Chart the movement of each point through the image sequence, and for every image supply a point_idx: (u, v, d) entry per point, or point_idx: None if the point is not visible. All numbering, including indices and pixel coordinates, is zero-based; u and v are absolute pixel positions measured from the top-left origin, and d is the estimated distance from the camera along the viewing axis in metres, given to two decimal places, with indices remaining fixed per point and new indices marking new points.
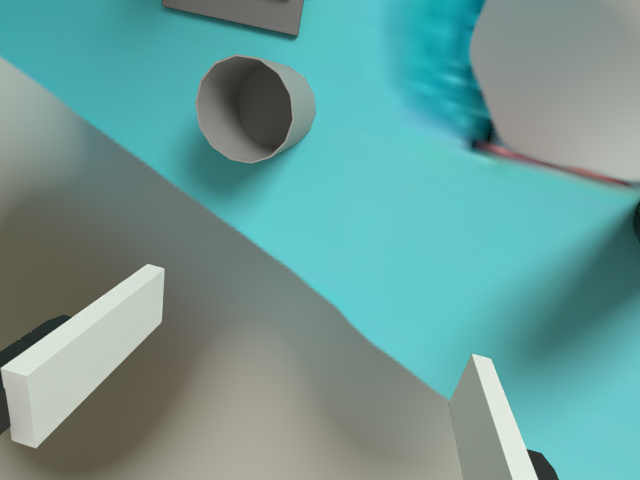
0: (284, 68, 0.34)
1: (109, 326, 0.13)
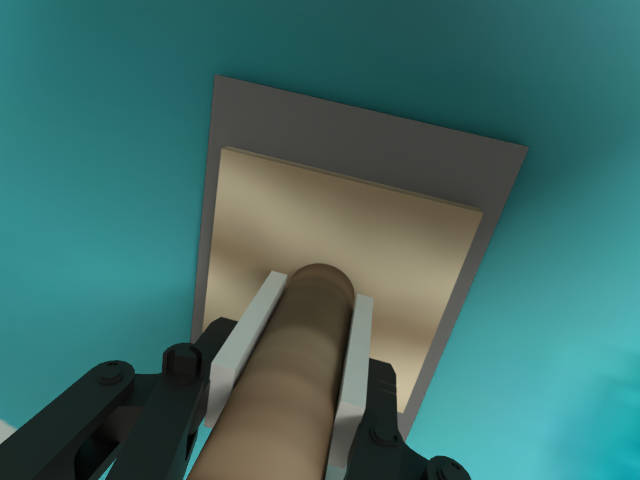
0: None
1: (263, 326, 0.14)
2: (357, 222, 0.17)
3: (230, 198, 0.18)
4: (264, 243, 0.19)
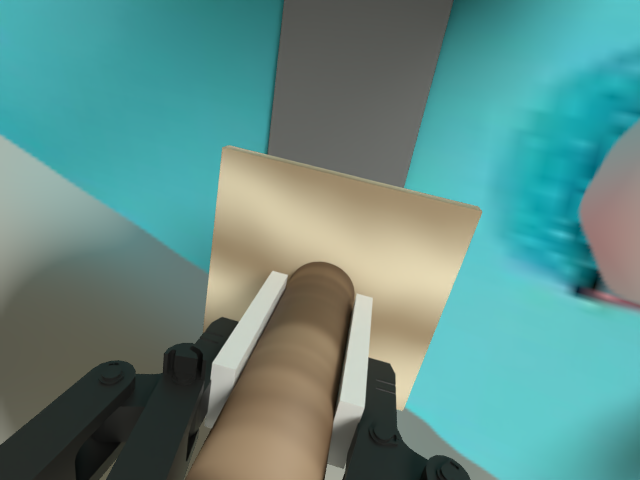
0: None
1: (264, 326, 0.14)
2: (357, 220, 0.18)
3: (231, 197, 0.18)
4: (264, 241, 0.19)
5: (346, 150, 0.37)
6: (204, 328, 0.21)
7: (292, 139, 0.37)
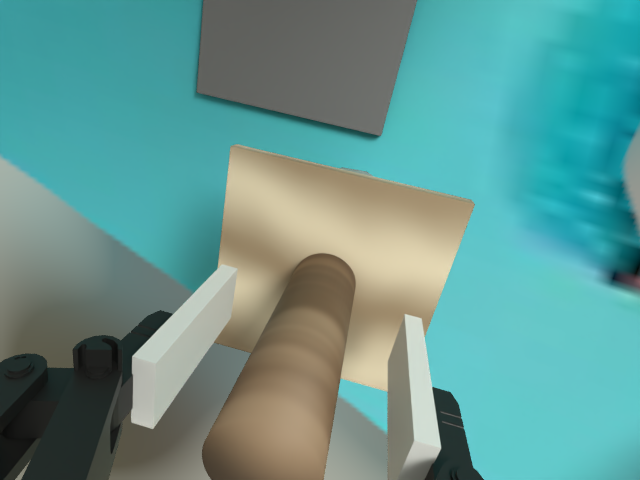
0: None
1: (202, 320, 0.14)
2: (357, 214, 0.19)
3: (239, 193, 0.19)
4: (270, 235, 0.20)
5: (305, 70, 0.26)
6: None
7: (231, 52, 0.27)
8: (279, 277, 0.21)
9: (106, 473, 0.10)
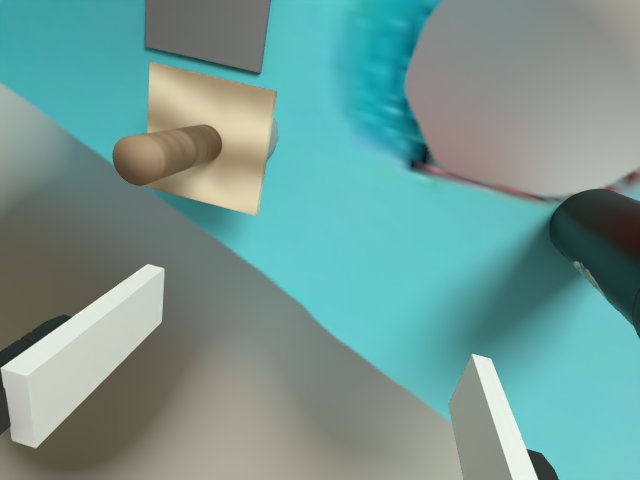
0: None
1: (109, 326, 0.13)
2: (218, 99, 0.35)
3: (155, 89, 0.35)
4: (174, 114, 0.36)
5: (210, 30, 0.42)
6: None
7: (164, 20, 0.43)
8: None
9: None
